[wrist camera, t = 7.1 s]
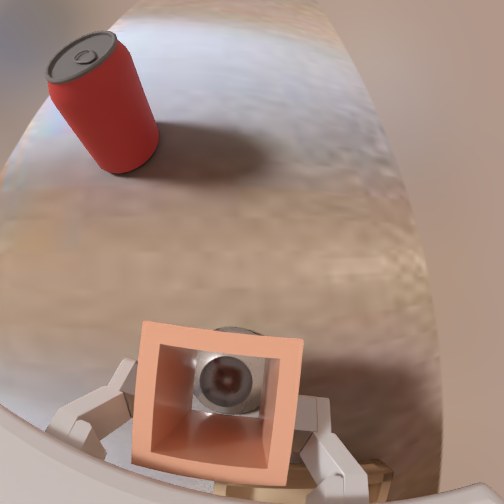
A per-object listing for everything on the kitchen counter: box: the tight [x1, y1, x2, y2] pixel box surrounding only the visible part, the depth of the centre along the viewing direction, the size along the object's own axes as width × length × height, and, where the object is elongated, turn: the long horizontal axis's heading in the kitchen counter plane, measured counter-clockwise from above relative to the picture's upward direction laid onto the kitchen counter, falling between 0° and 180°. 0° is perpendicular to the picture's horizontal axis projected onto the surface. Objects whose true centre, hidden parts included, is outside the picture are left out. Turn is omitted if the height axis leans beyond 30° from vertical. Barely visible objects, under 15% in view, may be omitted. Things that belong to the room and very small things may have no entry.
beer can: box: [45, 31, 159, 173], centre depth 20 cm, size 7×7×12 cm
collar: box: [131, 320, 304, 486], centre depth 11 cm, size 5×5×7 cm
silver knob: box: [193, 327, 265, 415], centre depth 18 cm, size 6×6×6 cm
